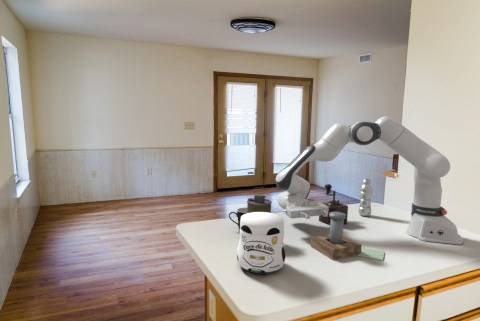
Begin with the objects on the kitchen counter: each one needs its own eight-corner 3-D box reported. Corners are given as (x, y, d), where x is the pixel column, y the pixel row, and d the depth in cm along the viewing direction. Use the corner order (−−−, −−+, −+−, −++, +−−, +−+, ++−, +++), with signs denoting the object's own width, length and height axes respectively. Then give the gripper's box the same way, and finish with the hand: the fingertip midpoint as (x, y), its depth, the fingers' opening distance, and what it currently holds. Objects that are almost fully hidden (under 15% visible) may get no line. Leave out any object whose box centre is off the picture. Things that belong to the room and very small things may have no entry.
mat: (384, 252, 137) (384, 251, 137) (382, 260, 129) (382, 259, 129) (360, 248, 141) (360, 247, 141) (357, 256, 133) (358, 255, 133)
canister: (275, 240, 148) (276, 195, 145) (259, 246, 140) (261, 199, 137) (256, 233, 155) (257, 191, 152) (240, 239, 147) (241, 194, 145)
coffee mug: (258, 230, 160) (258, 209, 158) (248, 235, 153) (249, 213, 151) (237, 225, 166) (237, 205, 165) (227, 230, 159) (227, 209, 157)
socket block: (337, 241, 147) (338, 233, 147) (361, 254, 134) (361, 244, 134) (310, 246, 141) (311, 237, 141) (332, 259, 129) (333, 249, 128)
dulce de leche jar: (249, 281, 111) (250, 228, 108) (229, 260, 127) (230, 213, 124) (294, 272, 118) (296, 222, 115) (270, 253, 133) (271, 209, 131)
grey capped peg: (344, 249, 139) (347, 213, 137) (341, 254, 134) (344, 217, 132) (328, 246, 142) (331, 210, 140) (325, 251, 136) (327, 214, 134)
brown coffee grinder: (348, 223, 172) (351, 188, 170) (333, 226, 167) (335, 191, 164) (326, 215, 186) (328, 183, 183) (311, 218, 180) (313, 184, 177)
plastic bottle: (372, 217, 183) (374, 181, 180) (358, 216, 184) (361, 180, 181) (370, 214, 189) (372, 179, 186) (357, 213, 190) (359, 178, 187)
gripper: (280, 202, 155) (297, 211, 143) (317, 199, 164) (336, 206, 151) (280, 216, 156) (296, 225, 144) (316, 212, 165) (335, 220, 152)
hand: (317, 215), depth 148 cm, fingers open, 8 cm apart
